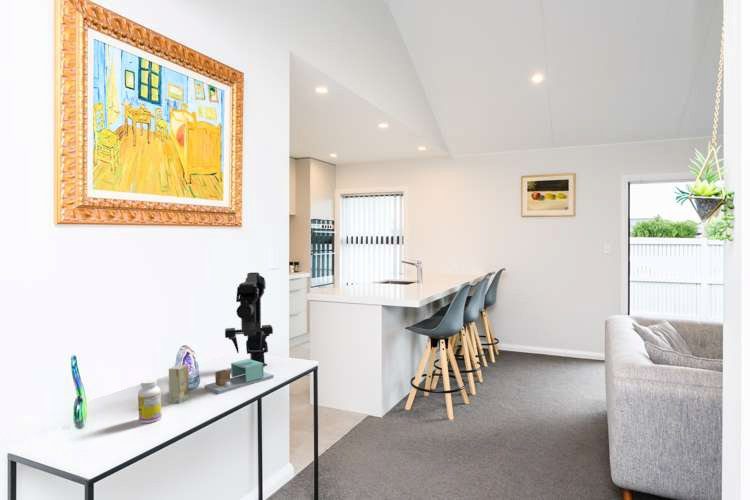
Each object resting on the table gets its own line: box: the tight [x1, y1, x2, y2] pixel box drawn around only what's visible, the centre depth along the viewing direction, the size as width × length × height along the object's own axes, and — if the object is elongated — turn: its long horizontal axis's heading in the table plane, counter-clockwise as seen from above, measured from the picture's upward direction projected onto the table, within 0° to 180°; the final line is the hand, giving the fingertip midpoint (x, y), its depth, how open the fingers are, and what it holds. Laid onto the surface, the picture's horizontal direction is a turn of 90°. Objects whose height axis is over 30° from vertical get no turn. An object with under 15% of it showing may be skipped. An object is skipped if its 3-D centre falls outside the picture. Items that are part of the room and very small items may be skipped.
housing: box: [230, 358, 264, 382], centre depth 193 cm, size 11×8×6 cm
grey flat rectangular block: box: [204, 371, 275, 394], centre depth 190 cm, size 10×25×3 cm, turn 138°
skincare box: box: [168, 364, 190, 404], centre depth 171 cm, size 6×4×12 cm
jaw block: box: [214, 369, 231, 387], centre depth 185 cm, size 4×4×5 cm
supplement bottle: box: [137, 378, 163, 424], centre depth 153 cm, size 7×7×13 cm
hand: (249, 351), depth 194 cm, fingers open, 9 cm apart
